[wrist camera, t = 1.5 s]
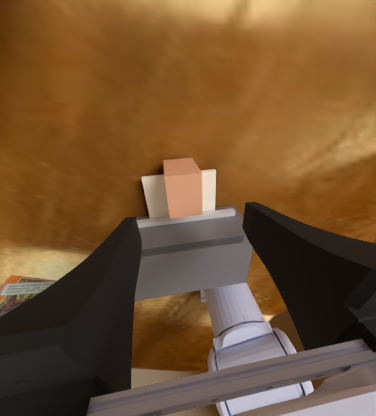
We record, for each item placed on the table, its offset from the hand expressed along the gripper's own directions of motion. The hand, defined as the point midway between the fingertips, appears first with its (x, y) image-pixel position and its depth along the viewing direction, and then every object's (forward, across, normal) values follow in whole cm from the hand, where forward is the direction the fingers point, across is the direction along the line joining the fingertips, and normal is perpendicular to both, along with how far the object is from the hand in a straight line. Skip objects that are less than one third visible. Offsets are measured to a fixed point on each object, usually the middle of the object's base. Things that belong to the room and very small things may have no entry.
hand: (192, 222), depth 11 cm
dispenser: (+9, 0, +9) cm, 13 cm away
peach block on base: (+9, 0, +5) cm, 10 cm away
